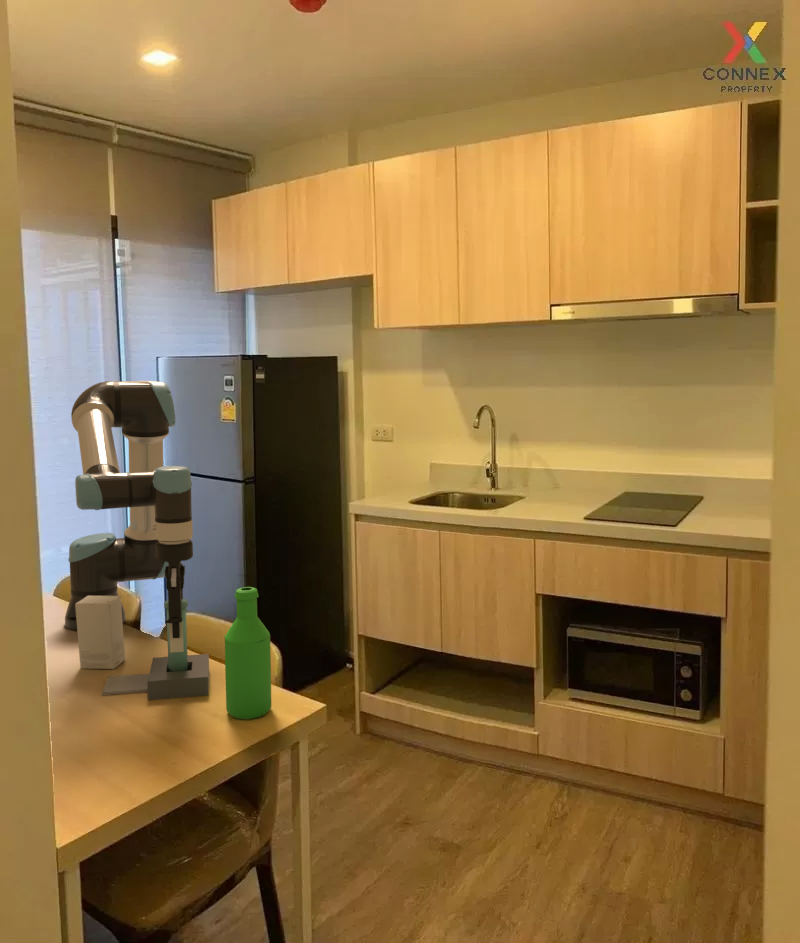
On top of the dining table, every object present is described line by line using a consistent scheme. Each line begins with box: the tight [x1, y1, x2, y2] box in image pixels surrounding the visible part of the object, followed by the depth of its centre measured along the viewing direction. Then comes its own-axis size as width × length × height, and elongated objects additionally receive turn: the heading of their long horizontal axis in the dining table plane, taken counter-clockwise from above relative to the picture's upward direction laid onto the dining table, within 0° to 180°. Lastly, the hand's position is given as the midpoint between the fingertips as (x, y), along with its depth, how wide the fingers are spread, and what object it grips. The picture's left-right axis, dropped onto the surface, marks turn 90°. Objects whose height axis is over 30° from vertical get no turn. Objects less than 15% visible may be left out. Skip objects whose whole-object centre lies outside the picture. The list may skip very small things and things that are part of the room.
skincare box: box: [75, 595, 126, 670], centre depth 186 cm, size 8×7×16 cm
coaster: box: [101, 673, 149, 696], centre depth 175 cm, size 9×9×1 cm
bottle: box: [224, 586, 272, 720], centre depth 160 cm, size 9×9×25 cm
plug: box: [163, 598, 189, 672], centre depth 174 cm, size 5×5×16 cm
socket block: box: [147, 653, 210, 701], centre depth 175 cm, size 14×12×4 cm
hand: (177, 647), depth 174 cm, fingers closed on plug, 4 cm apart
